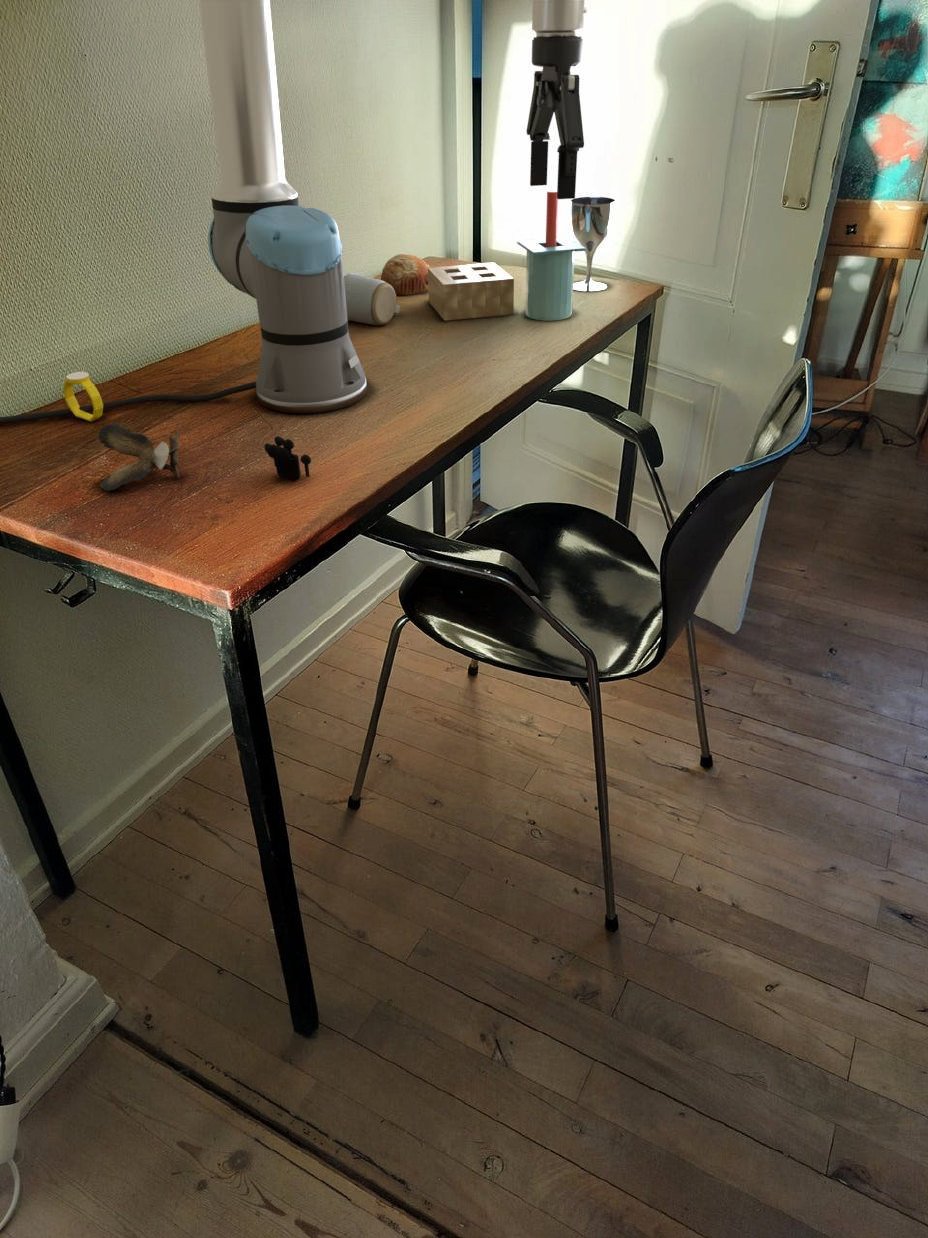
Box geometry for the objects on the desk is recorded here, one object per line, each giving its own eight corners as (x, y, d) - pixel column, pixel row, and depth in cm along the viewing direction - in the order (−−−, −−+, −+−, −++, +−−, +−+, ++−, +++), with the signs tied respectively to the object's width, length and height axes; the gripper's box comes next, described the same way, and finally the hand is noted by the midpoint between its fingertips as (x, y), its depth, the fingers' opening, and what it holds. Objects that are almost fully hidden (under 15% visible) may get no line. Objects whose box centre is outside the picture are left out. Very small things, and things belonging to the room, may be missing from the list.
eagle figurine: (179, 449, 108) (99, 444, 105) (179, 412, 102) (93, 407, 99) (179, 503, 105) (96, 500, 102) (179, 469, 99) (91, 466, 96)
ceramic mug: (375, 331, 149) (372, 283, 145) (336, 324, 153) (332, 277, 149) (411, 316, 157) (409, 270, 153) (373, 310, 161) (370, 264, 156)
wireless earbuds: (316, 483, 102) (311, 441, 99) (301, 491, 100) (295, 449, 98) (272, 469, 105) (266, 428, 103) (257, 477, 104) (250, 436, 101)
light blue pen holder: (533, 322, 152) (535, 253, 146) (519, 309, 158) (520, 243, 152) (578, 318, 154) (581, 250, 147) (562, 305, 160) (565, 240, 154)
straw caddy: (444, 320, 154) (443, 284, 150) (428, 301, 164) (427, 267, 160) (513, 314, 156) (514, 278, 153) (494, 296, 166) (494, 262, 163)
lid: (533, 254, 145) (533, 252, 145) (517, 243, 152) (517, 240, 152) (585, 250, 147) (585, 247, 147) (567, 239, 154) (567, 236, 154)
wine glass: (618, 287, 170) (624, 200, 161) (585, 294, 166) (590, 206, 157) (590, 278, 175) (594, 194, 167) (558, 285, 171) (561, 200, 163)
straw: (545, 312, 155) (549, 192, 144) (542, 310, 156) (545, 190, 146) (555, 311, 155) (559, 191, 144) (552, 309, 157) (556, 189, 146)
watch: (65, 417, 120) (52, 374, 117) (81, 411, 122) (70, 368, 119) (94, 426, 118) (83, 381, 114) (111, 419, 120) (100, 375, 116)
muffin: (390, 301, 178) (370, 263, 174) (436, 275, 176) (417, 237, 172) (392, 315, 170) (371, 276, 165) (440, 288, 168) (420, 248, 164)
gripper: (613, 35, 124) (602, 203, 136) (554, 32, 144) (548, 178, 156) (561, 36, 122) (555, 205, 134) (509, 33, 142) (507, 181, 154)
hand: (551, 191), depth 145 cm, fingers open, 13 cm apart
